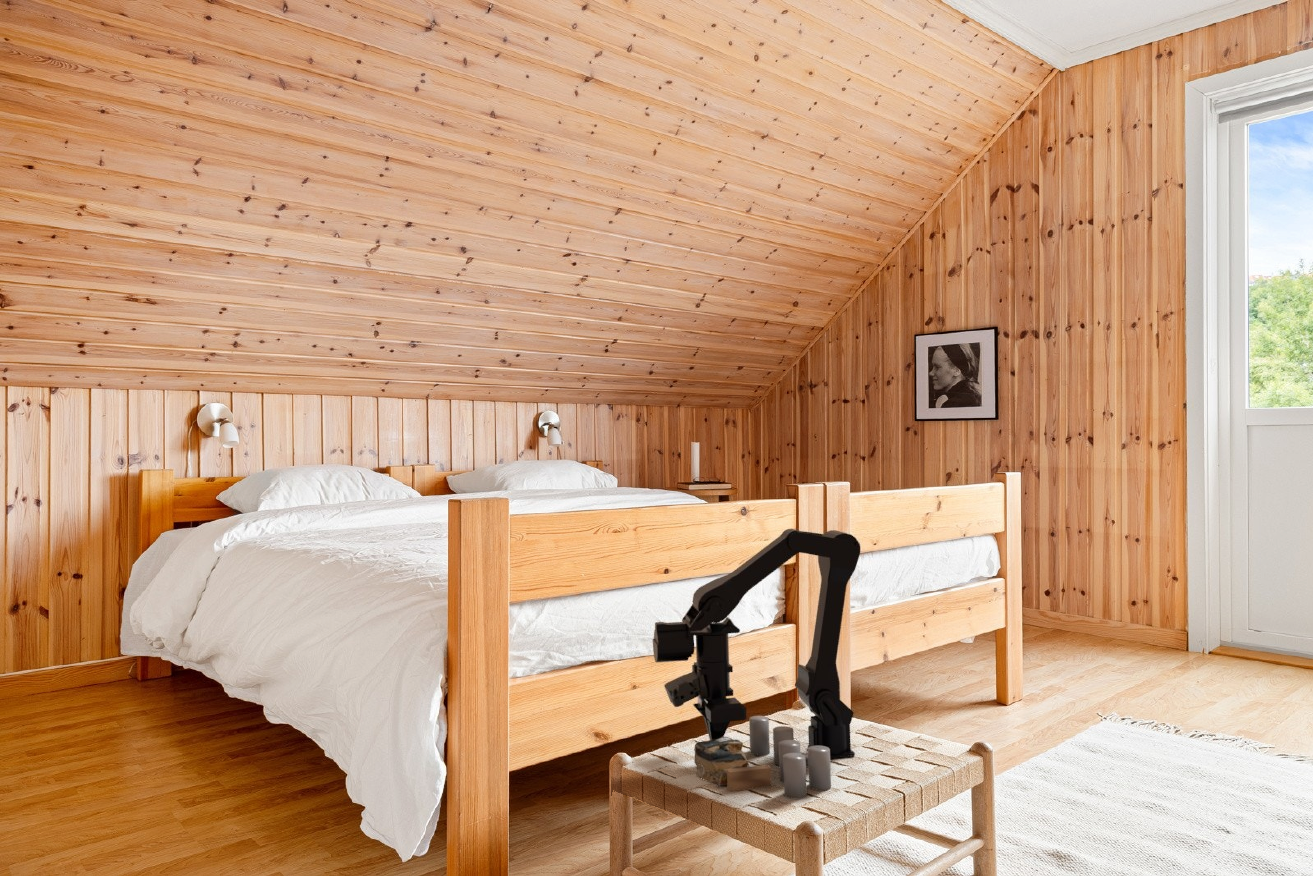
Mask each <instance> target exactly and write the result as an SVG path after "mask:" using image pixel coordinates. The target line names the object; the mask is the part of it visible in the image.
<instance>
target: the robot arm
mask: <svg viewBox="0 0 1313 876" xmlns="http://www.w3.org/2000/svg"><path fill="white" fill-rule="evenodd" d="M800 553H801V554H807V555H813V556H817V561H818V562H817V563H818V568H819V573H820V580H821V581H820V589H819V597H818V603H817V608H816V609H817V610H816V619H815V623H814V630H813V631H814V632H813V638H812V646H811V653H810V657H809V659H808V661H807V663H806V664H805V665H803V664H798V665H797V679H796V681H795V683H794V687H796V688H797V695H798V697H799V699H800V700H801V701H802V702H803V703H804V704H805V705H806V706H807V707H808V710H809V711H810V713H812V714H814V715H812V716H810V725H808V726H807V728H808V731H807V732H808V745H807V749H808V748H809V747H811V746H826V747H828V748H829V749H830V759H839V758H845V757H854V756H855V755H856V753H855V751H853V750H852V747H851V723H852V719H853V717H854V711H853V710H852V709H851V708H850V707H849V706H848V705H847V704H845V703H844V702H843V701H842V700H841V683H840V677H839V672H838V667H837V658H838V652H839V651H838V650H839V644H840V635H841V629H842V621H843V615H844V607H845V600H846V592H847V585H848V583H849V581H850V579H851V577H852V576H853V575H854V572H855V571H856V568H857V564H858V561H859V558H860V556H861V544H860V542H859V540H858V539H857V538H856V537H855V536H854V535H853V534H850V533H847V532H844V531H839V530H834V529H833V530H828V531H825V532H824V533H818V532H817V533H816V532H812V531H811V532H810V531H802V530H798V529H796V528H787V529H785V530H784V531H782V533H781V534H780V535H779V536H778V537H777V538H775V539H774V540H773V541H771V542H770V543H769V544H767V545H766V546H764V547H763V548H762V549H760V550H759V551H758V552H757V553H755V554H754V555H753V556H751V557H750V558H749V559H747V560H746V561H745V562H743V563H742V564H741V565H740V566H738V567H737V568H736V569H734V570H733V571H732V572H729V573H728V574H726V575H723V576H721V577H718V578H715V579H713V580H711V581H709V582H707V583H705V584H703V585H701V586H699V587H698V588H697V589H696V590H695V591H694V593H693V594H692V595H693V597H692V604H691V605H690V607H689V608H688V610H687V611H686V613H685V615H684V616H683V617H682V619H681V621H676V622H675V621H674V622H673V621H672V622H664V621H656V622H655V623H654V630H653V638H652V653H653V658H654V662H655V663H669V662H686V661H688V660H689V658H692V656H693V655H694V654H695V655H696V662H695V661H694V662H693V664H692V665H691V668H692V669H691V672H689V673H686V674H683V675H681V676H679V677H677V678H675V679H671V680H670V681H668V682H666V683H665V684H664V689H665V691H666V693H667V696H668V699H669V701H670V703H671V704H672V705H673V707H675V708H678V707H681V706H683V705H684V704H685V703H687V702H689V701H691V700H694V699H695V698H697V703H693V704H692V705H693V707H694V708H695V709H696V710H697V711H698V712H699V713H700V714H701V716H702V718H703V719H704V723H705V727H706V731H707V734H708V738H709V740H713V739H718V738H721V737H725V734H726V732H727V730H728V727H729V726H730V723H732V722H739V721H740V722H741V721H746V720H747V718H748V717H747V707H746V706H744V705H743V703H741V701H739V700H738V699H737V698H736V697H734V689H733V688H732V687H731V685H730V683H731V681H730V679H731V677H730V673H733V667H734V666H733V665H732V664H730V647H729V645H730V644H729V641H730V640H729V634H739V633H740V631H741V629H740V628H739V627H737V626H736V625H735V624H734V622H733V621H732V619H731V618H729V617H728V616H730V615H731V613H732V612H733V611H734V610H735V609H736V608H737V607H738V605H739V604H740V603H741V601H742V599H743V597H744V596H745V595H746V594H747V593H748V592H749V591H751V589H753V588H754V587H756V586H757V585H758V584H759V583H761V582H762V581H763V580H765V579H766V578H767V577H768V576H770V575H771V574H772V573H774V572H775V571H777V569H779V568H780V567H782V566H783V565H784V564H786V563H787V562H788V561H790V560H791V559H792V558H794V557H795V556H796V555H798V554H800ZM694 636H695V637H694ZM695 650H696V651H695ZM695 652H696V653H695Z"/></svg>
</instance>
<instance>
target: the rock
mask: <svg viewBox="0 0 1313 876" xmlns="http://www.w3.org/2000/svg"><path fill="white" fill-rule="evenodd" d="M743 743H744V742H742V741H741V740H739V739H734V738H732V737H729V736H724V737H721V738H718V739H713V740H710V739H709V740H703V741H699V742H696V743H695V744H694V764H695V765H696V771H695V775H696V777H697V778H699V779H701V778H702V779H701V780H703V779H704V780H703V781H706V780H707V781H706V782H708V783H715V784H717V785H718V786H719V787H721V786H727V769H733V768H742V767H750V762H749V761H748V760H747V757H746V756H747V755H746V754H745V752H744V751H743V745H744V744H743Z"/></svg>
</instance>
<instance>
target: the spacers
mask: <svg viewBox="0 0 1313 876" xmlns="http://www.w3.org/2000/svg"><path fill="white" fill-rule="evenodd" d="M748 719H749V720H748V723H749V727H748V729H749V753H750V754H752V755H755V756H766V755H770V753H771V752H770V751H771V749H770V747H771V746H770V721H769V720H770V719H769V717H768V716H765V715H753V716H749V718H748ZM794 739H795V738H794V728H793V727H790V726H785V725H784V726H782V725H781V726H779V725H778V726H775V727H774V728H772V740H773V741H772V742H773V743H772V744H773V765H774V766H775V767H777V768H779V780H780V782H782V783H783V795H784V797H786V798H788V799H792V800H799V799H804V798H806V797H807V768H806V767H807V766H806V760H805V755H804V754H803V753H801V742H800V741H798V740H794ZM807 753H808V787H809V788H810V789H811V790H814V791H828V790H830V789H831V788H832V785H831V784H832V780H831V779H832V776H831V775H832V774H831V758H830V749H829V748H828V747H826V746H811V747H809V748H808V747H807Z"/></svg>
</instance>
